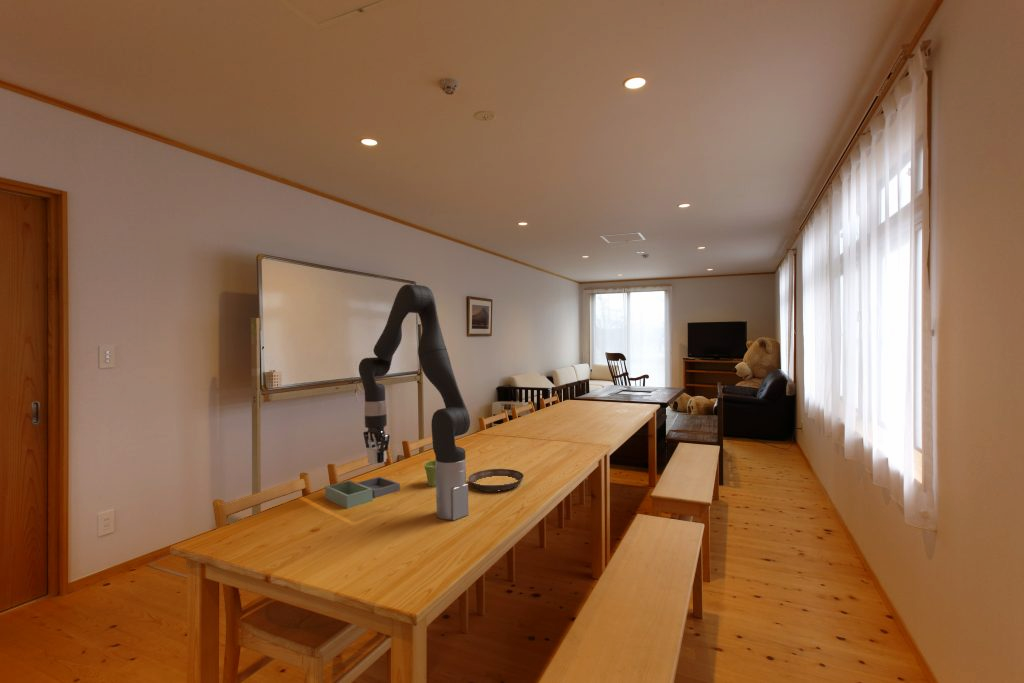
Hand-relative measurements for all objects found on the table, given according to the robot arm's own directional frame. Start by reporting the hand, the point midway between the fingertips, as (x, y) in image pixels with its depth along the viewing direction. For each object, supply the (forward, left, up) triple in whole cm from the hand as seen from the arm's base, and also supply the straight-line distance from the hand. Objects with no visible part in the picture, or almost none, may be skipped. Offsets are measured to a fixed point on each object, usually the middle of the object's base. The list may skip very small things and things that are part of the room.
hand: (377, 461), depth 167 cm
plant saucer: (-26, -34, -12) cm, 44 cm away
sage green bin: (-1, +12, -11) cm, 16 cm away
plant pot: (-11, -18, -12) cm, 24 cm away
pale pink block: (0, 0, 0) cm, 0 cm away
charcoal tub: (0, 0, -11) cm, 11 cm away
